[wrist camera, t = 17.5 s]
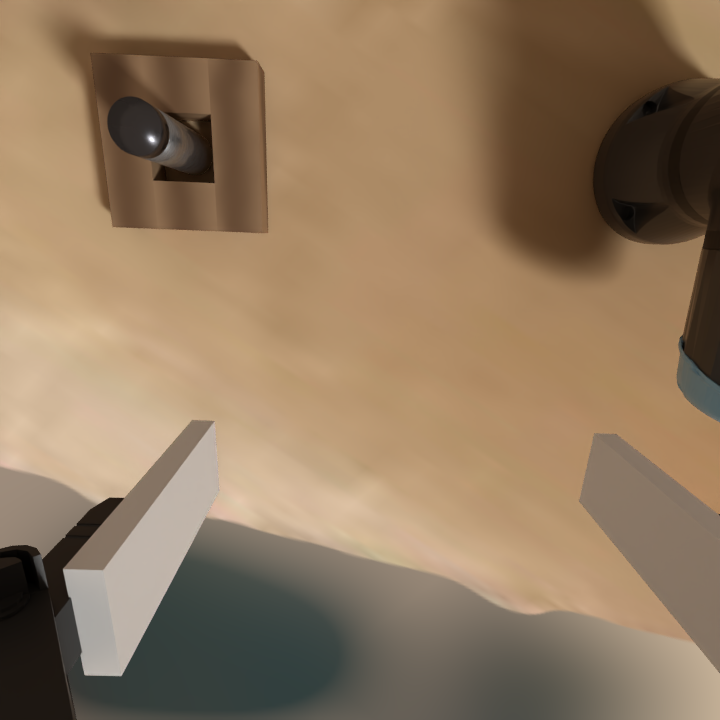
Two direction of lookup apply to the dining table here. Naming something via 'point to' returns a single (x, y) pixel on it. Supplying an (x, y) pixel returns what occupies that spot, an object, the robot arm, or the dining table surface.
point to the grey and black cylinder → (157, 136)
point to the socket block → (191, 103)
